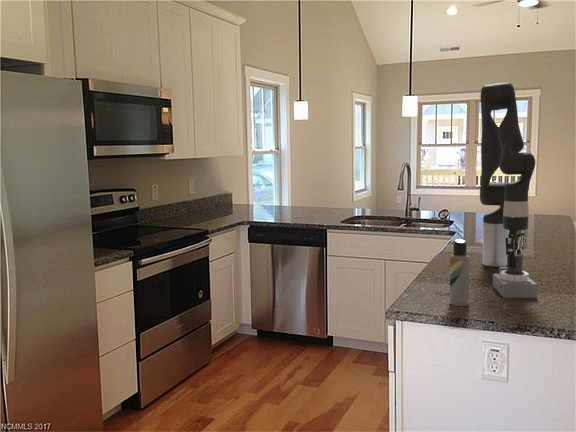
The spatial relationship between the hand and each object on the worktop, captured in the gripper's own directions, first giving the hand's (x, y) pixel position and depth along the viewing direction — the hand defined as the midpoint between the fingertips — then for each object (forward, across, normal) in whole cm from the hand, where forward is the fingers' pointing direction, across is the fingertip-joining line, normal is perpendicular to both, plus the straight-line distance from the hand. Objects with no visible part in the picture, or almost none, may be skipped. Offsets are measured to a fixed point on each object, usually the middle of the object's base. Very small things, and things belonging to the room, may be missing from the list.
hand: (514, 265), depth 179 cm
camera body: (+9, 0, 0) cm, 9 cm away
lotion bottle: (+9, +22, -10) cm, 26 cm away
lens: (+4, 0, 0) cm, 4 cm away
